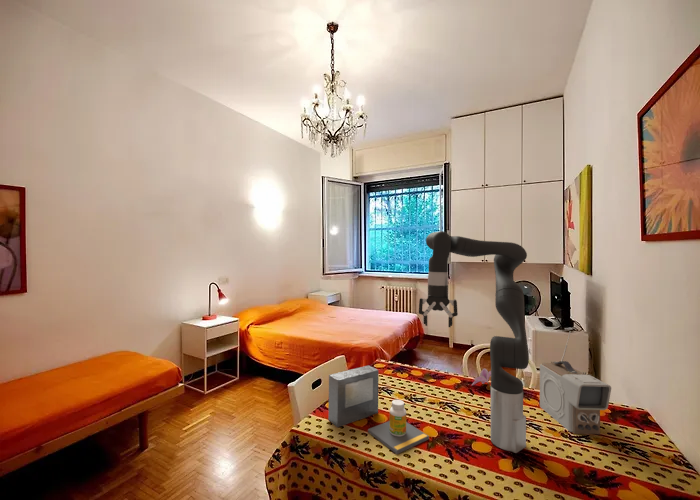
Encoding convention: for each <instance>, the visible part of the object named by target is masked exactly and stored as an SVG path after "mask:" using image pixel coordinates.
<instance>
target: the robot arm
mask: <svg viewBox="0 0 700 500" xmlns="http://www.w3.org/2000/svg"><path fill="white" fill-rule="evenodd" d="M425 244H426V246H427V247H428V248H429V249H430V250H432V256H430V257H429V259H428V275H427V298H423V297H420V298H419V302H418V303H419V304H418V314H419V315H422V316H423V325H424V326H426V327H428V314H429V313H430V311H432V310H433V311H439V312H440V311H441V312H442V311H444V312H445V313H446V314H447V315H448V319H447V320H448V328H451V327H452V326H453V318H454V317H458V302H457V299H456V298H455V299H449V274H448V272H449V271H448V268H449V267H448V265H449V264H448V260H449V257H450V253H452V254H455V255H457V256H459V255H460V256H463V257H468V258H469V257H471V258H472V257H473V258H474V257H476V258H477V257H484V256H492V255H494V257H493V267H494V274H495V301H494V302H495V308H496V311H497V312H498V314H499V315H500V317H502V319H503V321H504V322H506V324H507V325H508V326H509V328H510V330H511V331H512V333H513V335H514V337H508V336H497V335H496V336H495V335H493V336H492V337H491V340H490V344H489V353H490V356H489V357H490V371H491V376H490V386H491V388H490V441H491V443H492V444H493V445H494V446H496V447H497V448H500V449H502V450H504V451H508V452H512V453H515V454H518V453H519V452H520V451H522V450H523V449H525V448H527V416H526V415H525V414H524V384H523V381H522V380H521V379H520V378H519V377H517V376H514V375H513V374H511V373H509V372H507V371H506V370H505V369H503V368H509V369H517V370H518V369H519V370H525V369H527V368H528V366H529V362H530V354H529V345H528V339H527V338H528V337H527V330H526V321H525V295H524V291H523V289H522V287H521V286H520V285H519V284H518V283H517V282H516V281H514V274H515V273H514V272H515V270H516V269H517V268H518V267H519V266H520V265H521V264H522V263H524V262H525V261H526V259H527V257H528V253H527V251H526V249H525V248H524V247H523V246H522V245H520V244H518V243H516V242H509V241H492V240H491V241H490V240H481V239H480V240H478V239H475V238H468V237H464V236H459V235H454V236H452V235H449V233H447V232H446V231H441V230H440V231H434V232H431V233H428V235H427V236H426V238H425ZM425 303H427V304H428V307H426V309H425V310H423V305H425ZM449 304H450V305H451V306H452V307H453V312H451V311H450V309H449V308H448V305H449Z"/></svg>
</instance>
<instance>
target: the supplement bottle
mask: <svg viewBox="0 0 700 500" xmlns="http://www.w3.org/2000/svg"><path fill="white" fill-rule="evenodd" d="M389 421H390V428H389V429H390V433H391V434H392V435H394V436H398V437H400V436H404V435H405V434H406V422H407V410H406V409H405V402H404V401H403V400H401V399H393V400H392V401H391V407H390V408H389Z"/></svg>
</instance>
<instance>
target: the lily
mask: <svg viewBox="0 0 700 500" xmlns="http://www.w3.org/2000/svg"><path fill="white" fill-rule="evenodd" d="M490 378H491V370H489V371H488V369H487V368H485V367H484V368H482V369H481V371H480V373H479V376H477V377H474V378H473V380H474V381H473V383H472V384H471V386H474V385H476V384H477V383H480V382H481V384H483V385H484V384H485V383H487V384H488V386H489V389H491V383H489V379H490Z"/></svg>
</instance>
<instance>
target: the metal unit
mask: <svg viewBox="0 0 700 500" xmlns="http://www.w3.org/2000/svg"><path fill="white" fill-rule="evenodd" d="M377 414H379V369H377V368H375V367H374V366H371V365H369V364H368V365H363V366H360V367H356V368H352V369H348V370H347V369H346V370H343V371H339V372H335V373H331V374H330V373H329V374H328V417H327V418H328V421H329V422H330V423H331V424H333V425H334V426H335V427H336V428H340V427H343V426H346V425H348V424H351V423H354V422H357V421H359V420H363V419H365V418H369V417H371V416H373V415H377Z"/></svg>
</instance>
